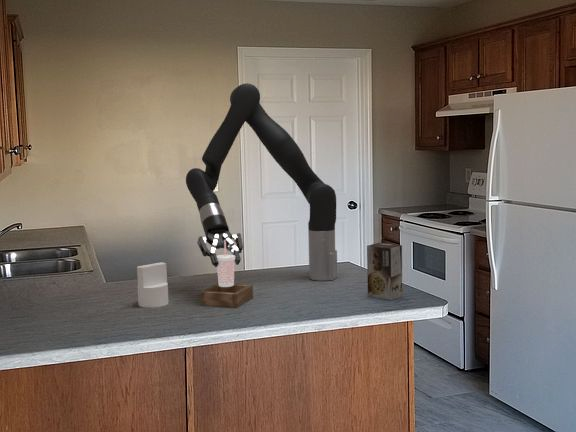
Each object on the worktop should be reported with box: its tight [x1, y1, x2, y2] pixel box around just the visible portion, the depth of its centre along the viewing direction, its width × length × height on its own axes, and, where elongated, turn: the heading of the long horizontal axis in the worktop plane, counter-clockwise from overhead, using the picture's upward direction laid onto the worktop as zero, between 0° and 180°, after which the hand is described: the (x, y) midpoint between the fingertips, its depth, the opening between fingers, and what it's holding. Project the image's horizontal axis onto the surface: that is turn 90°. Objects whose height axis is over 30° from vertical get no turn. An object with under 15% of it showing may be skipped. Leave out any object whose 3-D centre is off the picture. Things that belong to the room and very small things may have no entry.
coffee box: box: [366, 242, 403, 301], centre depth 202 cm, size 9×6×16 cm
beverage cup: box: [216, 240, 236, 287], centre depth 200 cm, size 6×6×14 cm
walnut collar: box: [199, 282, 254, 309], centre depth 201 cm, size 12×12×4 cm
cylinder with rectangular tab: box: [136, 261, 169, 308], centre depth 200 cm, size 9×9×12 cm
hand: (227, 264), depth 198 cm, fingers closed on beverage cup, 6 cm apart
